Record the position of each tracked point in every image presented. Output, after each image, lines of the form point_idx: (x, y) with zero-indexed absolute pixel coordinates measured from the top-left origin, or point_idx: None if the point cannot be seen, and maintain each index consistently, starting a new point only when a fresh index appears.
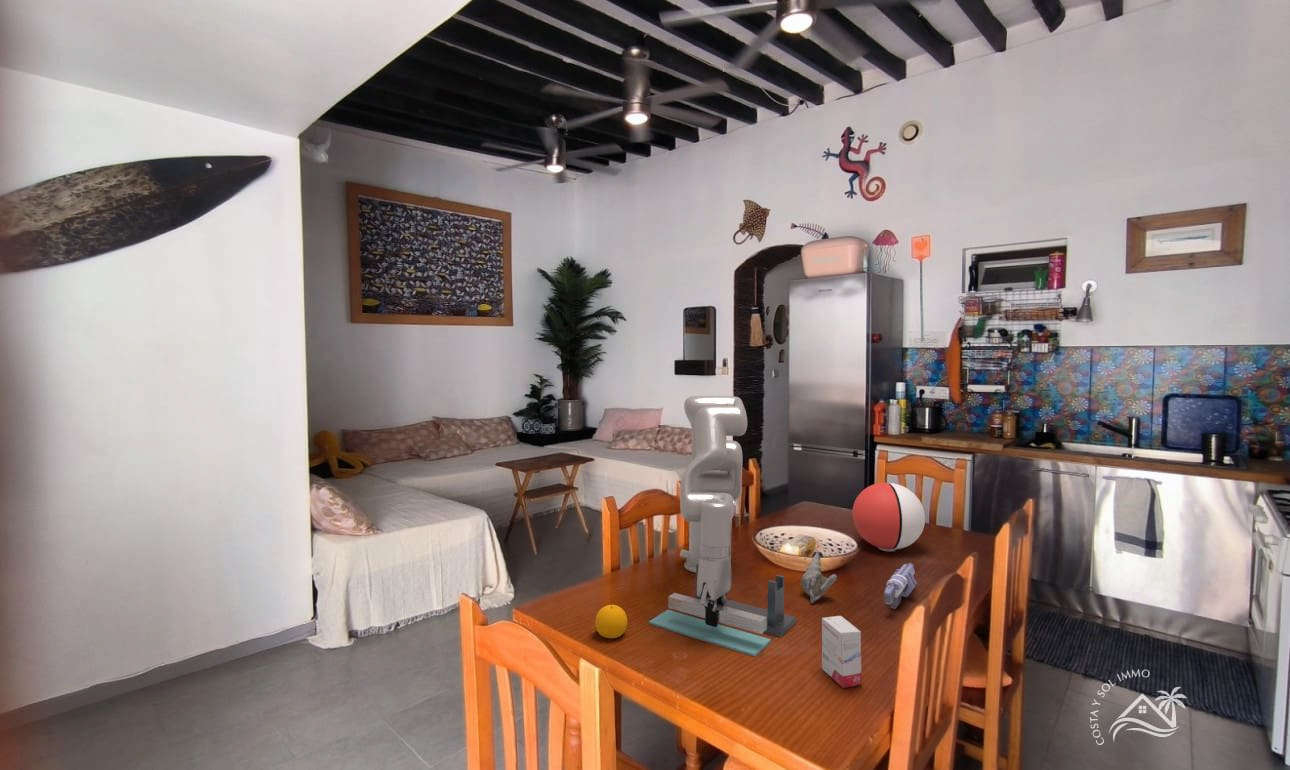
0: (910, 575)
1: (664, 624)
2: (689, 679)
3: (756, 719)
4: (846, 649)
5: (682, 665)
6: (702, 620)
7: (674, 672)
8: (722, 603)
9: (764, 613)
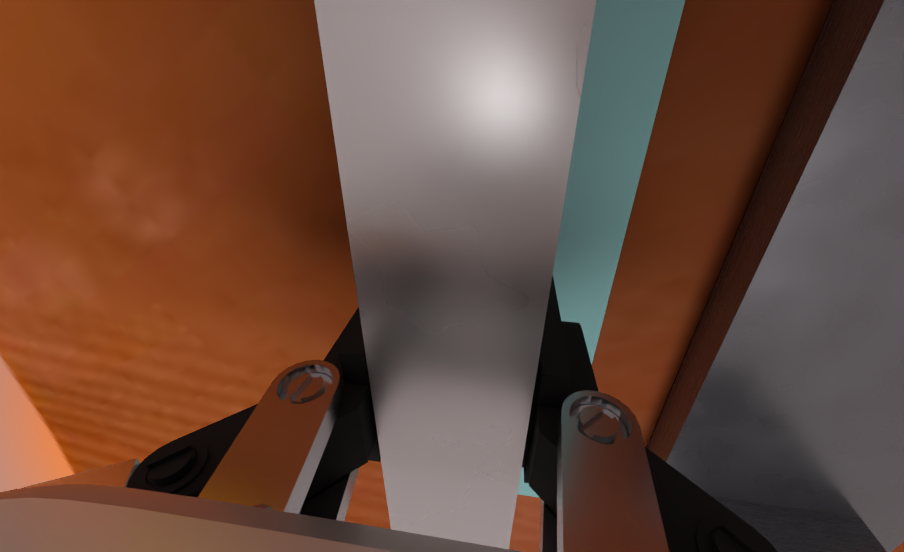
0: None
1: None
2: (61, 328)
3: None
4: None
5: (90, 259)
6: (646, 83)
7: (24, 256)
8: (542, 492)
9: (894, 467)
